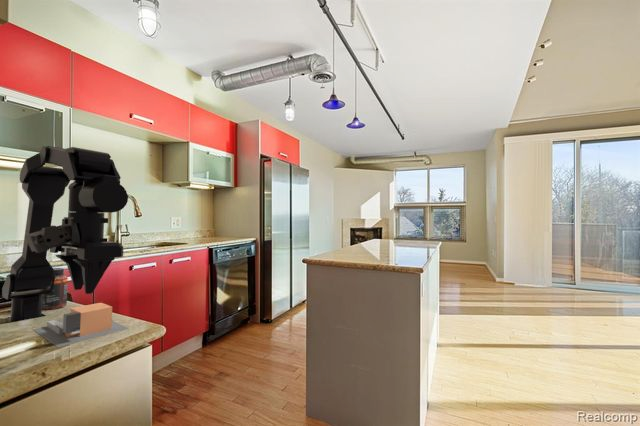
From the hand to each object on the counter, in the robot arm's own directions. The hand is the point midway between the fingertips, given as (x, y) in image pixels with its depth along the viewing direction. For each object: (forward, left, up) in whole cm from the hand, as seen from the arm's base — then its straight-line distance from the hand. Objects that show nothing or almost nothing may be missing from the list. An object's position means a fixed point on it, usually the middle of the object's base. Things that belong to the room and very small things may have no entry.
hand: (83, 291), depth 59 cm
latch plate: (-12, +4, -12) cm, 17 cm away
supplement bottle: (-42, +7, -12) cm, 44 cm away
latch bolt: (-10, 0, -9) cm, 14 cm away
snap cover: (-10, +5, -11) cm, 16 cm away
